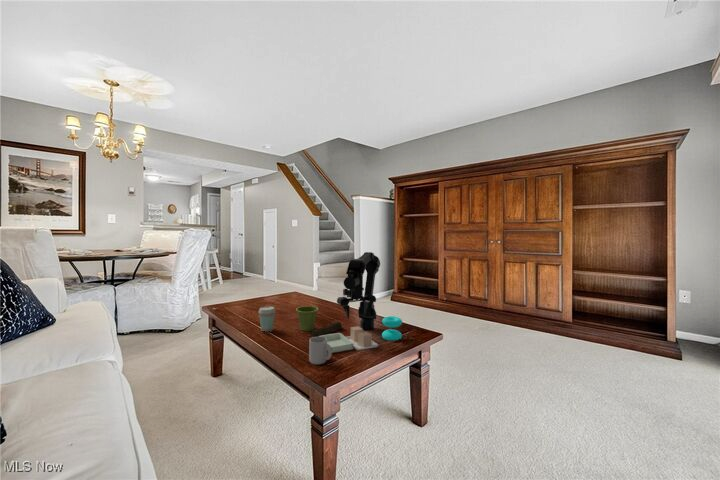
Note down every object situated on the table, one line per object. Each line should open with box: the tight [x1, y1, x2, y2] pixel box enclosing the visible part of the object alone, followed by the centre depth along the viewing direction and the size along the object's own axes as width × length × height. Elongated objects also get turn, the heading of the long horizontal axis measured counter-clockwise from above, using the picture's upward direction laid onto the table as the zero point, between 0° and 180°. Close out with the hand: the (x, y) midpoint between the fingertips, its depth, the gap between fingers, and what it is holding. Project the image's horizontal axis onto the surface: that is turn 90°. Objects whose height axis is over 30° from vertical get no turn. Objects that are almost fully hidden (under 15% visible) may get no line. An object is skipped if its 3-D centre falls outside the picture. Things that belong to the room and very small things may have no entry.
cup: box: [308, 336, 333, 365], centre depth 125 cm, size 7×10×9 cm
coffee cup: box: [258, 306, 276, 333], centre depth 162 cm, size 9×8×12 cm
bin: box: [319, 332, 354, 354], centre depth 142 cm, size 11×16×3 cm
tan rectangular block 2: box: [358, 331, 373, 347], centre depth 141 cm, size 4×4×6 cm
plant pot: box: [295, 305, 319, 332], centre depth 165 cm, size 12×12×11 cm
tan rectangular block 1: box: [350, 326, 364, 342], centre depth 150 cm, size 4×4×6 cm
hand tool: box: [311, 321, 343, 338], centre depth 159 cm, size 19×4×5 cm, turn 134°
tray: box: [345, 335, 380, 351], centre depth 146 cm, size 11×16×1 cm
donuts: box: [381, 316, 403, 341], centre depth 153 cm, size 10×10×10 cm
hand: (356, 317), depth 149 cm, fingers open, 9 cm apart
